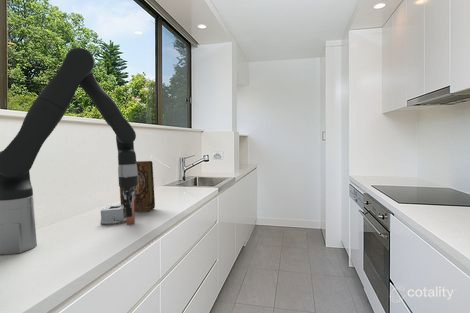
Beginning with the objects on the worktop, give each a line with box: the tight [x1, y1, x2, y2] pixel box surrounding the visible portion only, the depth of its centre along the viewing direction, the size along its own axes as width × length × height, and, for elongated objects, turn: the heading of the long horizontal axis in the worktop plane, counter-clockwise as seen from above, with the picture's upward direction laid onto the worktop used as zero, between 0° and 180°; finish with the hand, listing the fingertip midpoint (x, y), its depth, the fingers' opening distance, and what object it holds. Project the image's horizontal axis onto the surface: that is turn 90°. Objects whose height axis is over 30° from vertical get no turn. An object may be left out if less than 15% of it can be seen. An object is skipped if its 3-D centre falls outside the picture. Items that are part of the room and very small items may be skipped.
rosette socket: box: [100, 204, 127, 226], centre depth 115 cm, size 12×12×6 cm
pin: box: [126, 193, 136, 226], centre depth 109 cm, size 4×4×14 cm
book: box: [119, 160, 156, 213], centre depth 131 cm, size 16×6×25 cm, turn 84°
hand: (130, 215), depth 109 cm, fingers closed on pin, 3 cm apart
